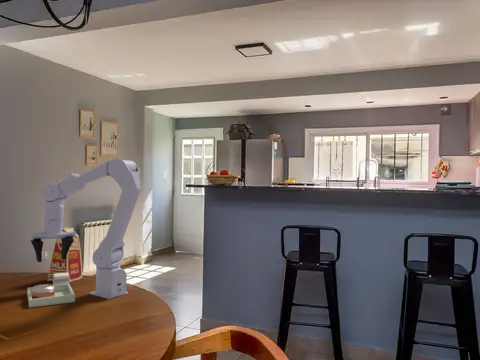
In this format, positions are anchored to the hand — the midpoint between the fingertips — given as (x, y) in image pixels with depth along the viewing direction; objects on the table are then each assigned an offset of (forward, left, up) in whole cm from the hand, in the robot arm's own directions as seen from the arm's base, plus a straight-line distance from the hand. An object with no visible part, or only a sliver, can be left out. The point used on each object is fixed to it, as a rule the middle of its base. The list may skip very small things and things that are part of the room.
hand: (51, 260), depth 128 cm
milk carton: (+8, -11, -10) cm, 17 cm away
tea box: (-2, -2, -10) cm, 10 cm away
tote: (-10, +6, -10) cm, 15 cm away
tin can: (-10, +8, -9) cm, 16 cm away
